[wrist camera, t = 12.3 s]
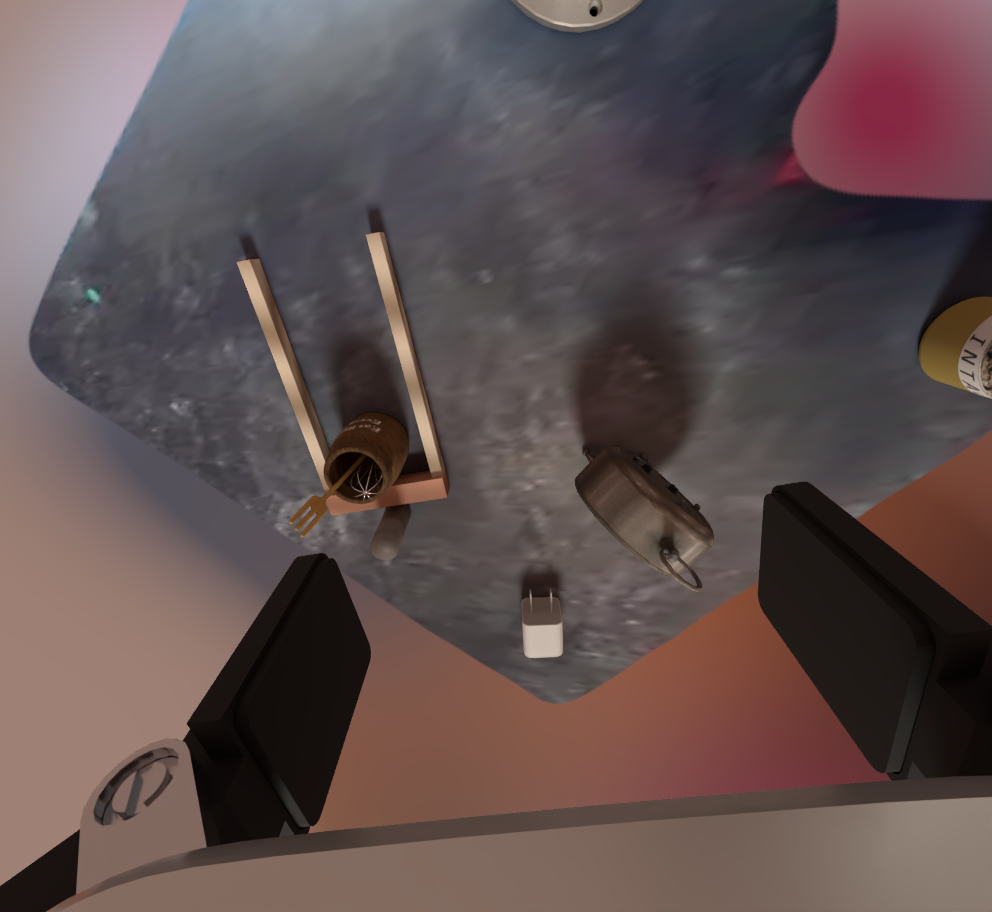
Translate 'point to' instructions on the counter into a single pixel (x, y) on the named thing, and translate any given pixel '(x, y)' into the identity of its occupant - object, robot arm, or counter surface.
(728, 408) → the counter surface
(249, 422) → the counter surface
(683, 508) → the alarm clock
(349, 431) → the utensil holder
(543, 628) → the usb wall charger
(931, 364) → the paper tube
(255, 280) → the guide channel
